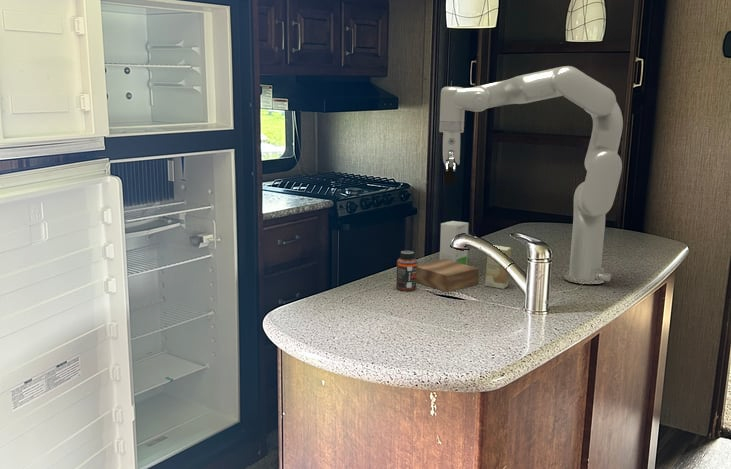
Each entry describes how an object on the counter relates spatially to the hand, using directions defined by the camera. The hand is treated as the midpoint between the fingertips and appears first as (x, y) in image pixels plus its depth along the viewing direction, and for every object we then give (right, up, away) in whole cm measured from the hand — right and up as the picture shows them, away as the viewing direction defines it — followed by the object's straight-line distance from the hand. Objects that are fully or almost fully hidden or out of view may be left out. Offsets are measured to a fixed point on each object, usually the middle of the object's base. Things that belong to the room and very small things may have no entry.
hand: (449, 182), depth 226 cm
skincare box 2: (+14, -33, -7) cm, 36 cm away
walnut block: (-2, -32, -4) cm, 32 cm away
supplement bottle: (-14, -33, -11) cm, 38 cm away
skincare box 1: (+3, -28, +12) cm, 31 cm away
